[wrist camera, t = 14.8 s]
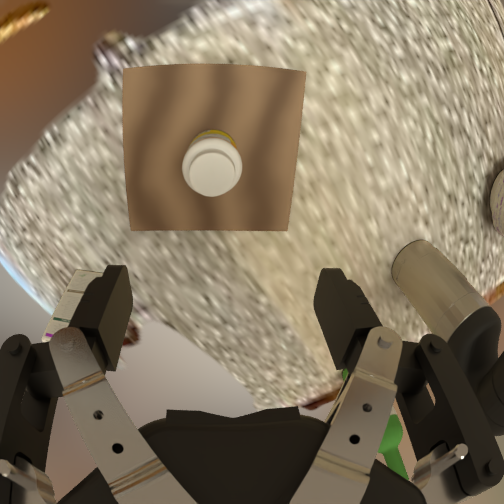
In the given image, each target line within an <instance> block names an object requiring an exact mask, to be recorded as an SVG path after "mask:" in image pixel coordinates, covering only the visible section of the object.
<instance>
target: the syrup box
mask: <svg viewBox="0 0 504 504" xmlns="http://www.w3.org/2000/svg"><path fill="white" fill-rule="evenodd" d="M102 275H103V273H99V272H91V271H84V270H76V272H75V274H74V275H73V277H72V279H71V281H70V283H69V284H68V286H67V288H66V290H65V292H64V294H63V295H62V297H61V299H60V301H59V303H58V305H57V307H56V309H55V311H54V313H53V315H52V317H51V319H50V321H49V323H48V325H47V328H46V330H45V332H44V334H43V337H42V341H43V342H49V341H50V339H51V337H52V336H53V334H54V333H55V332H57V331H58V330H60V329H62V328H65V327H68V325H69V323H70V320H71V318H72V316H73V314H74V312H75V310H76V308H77V306H78V303H79V302H80V299H81V297H82V295H84V291H85V289H86V287H87V286H88V284H89V283H90V282H91V281H92V280H93V279H95V278H96V277H102Z"/></svg>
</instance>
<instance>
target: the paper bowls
mask: <svg viewBox="0 0 504 504" xmlns="http://www.w3.org/2000/svg"><path fill="white" fill-rule="evenodd" d="M490 207H491V211H492V219H493V225H494V227H495V229H496V231H497V232H498V233H500V234H501V235H502V236H503V237H504V170H502V171H501V172H500V173H499V175H498V176H497V178H496V179H495V181H494V184H493V187H492V190H491V195H490Z"/></svg>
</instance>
